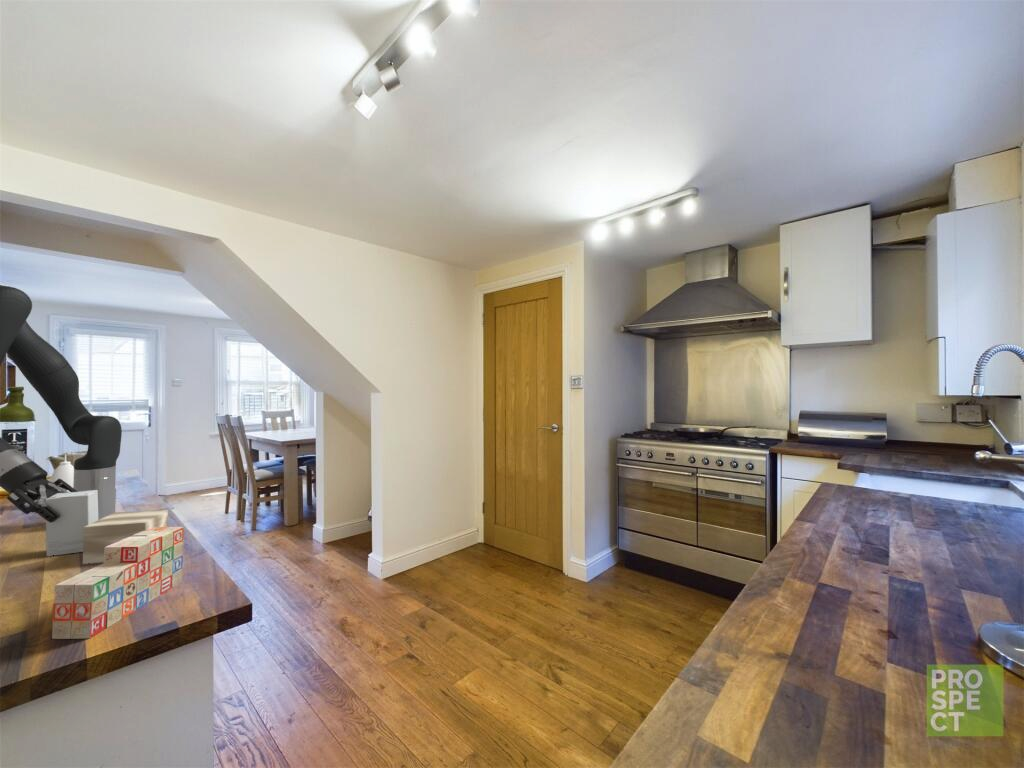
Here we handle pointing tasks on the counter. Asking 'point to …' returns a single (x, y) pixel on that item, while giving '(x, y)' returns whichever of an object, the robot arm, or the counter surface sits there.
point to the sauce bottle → (64, 473)
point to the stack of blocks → (119, 583)
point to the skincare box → (70, 521)
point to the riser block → (118, 530)
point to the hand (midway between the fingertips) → (69, 514)
